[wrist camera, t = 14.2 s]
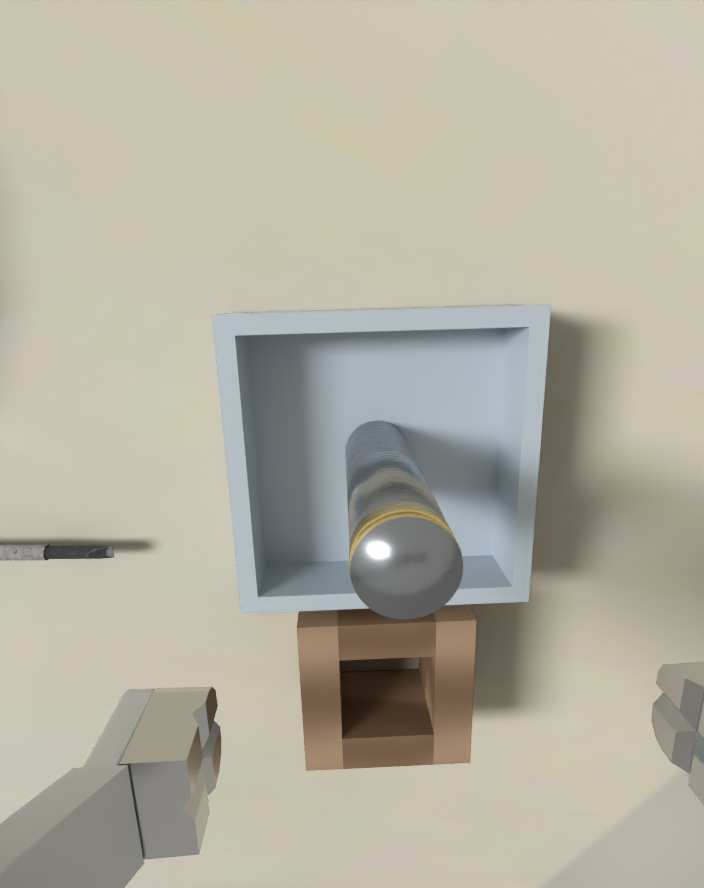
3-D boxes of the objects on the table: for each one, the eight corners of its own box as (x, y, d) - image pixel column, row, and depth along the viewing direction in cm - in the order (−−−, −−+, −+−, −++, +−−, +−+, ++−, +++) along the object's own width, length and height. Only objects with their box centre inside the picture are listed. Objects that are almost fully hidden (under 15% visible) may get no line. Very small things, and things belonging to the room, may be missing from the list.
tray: (501, 558, 27) (528, 601, 23) (255, 568, 27) (241, 613, 23) (515, 304, 23) (551, 305, 20) (232, 312, 23) (211, 314, 19)
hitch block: (450, 694, 29) (470, 762, 25) (310, 700, 29) (306, 770, 25) (453, 569, 27) (476, 620, 23) (303, 575, 27) (297, 627, 22)
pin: (408, 480, 24) (462, 618, 14) (345, 482, 24) (351, 622, 14) (409, 418, 24) (466, 515, 13) (343, 421, 24) (348, 520, 13)
